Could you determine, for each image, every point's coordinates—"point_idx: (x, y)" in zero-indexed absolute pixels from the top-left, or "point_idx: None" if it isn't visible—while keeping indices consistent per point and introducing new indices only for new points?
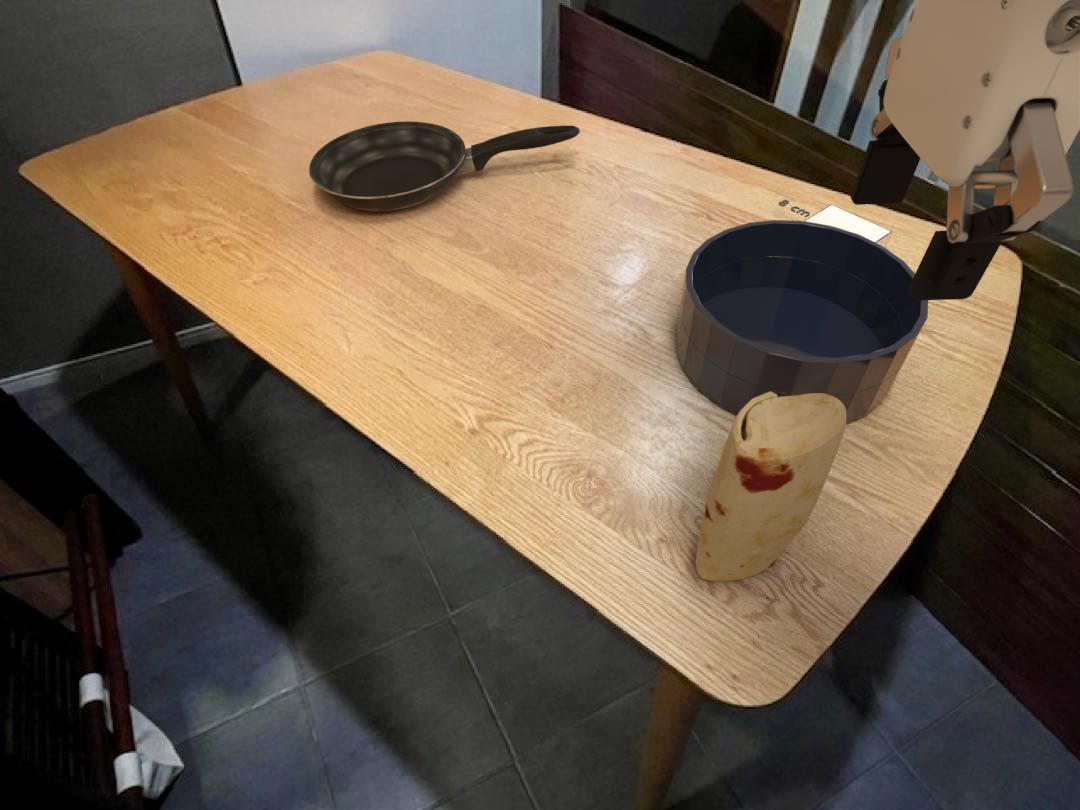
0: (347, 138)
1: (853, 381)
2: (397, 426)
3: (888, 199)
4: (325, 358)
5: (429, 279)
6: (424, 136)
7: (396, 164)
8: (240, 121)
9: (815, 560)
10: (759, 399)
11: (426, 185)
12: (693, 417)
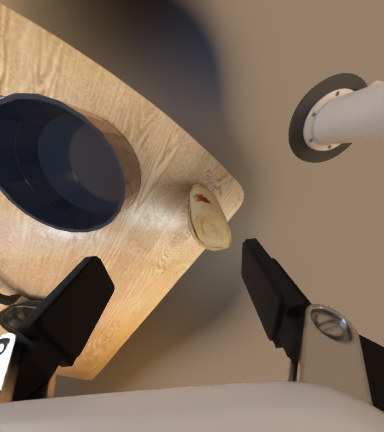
0: None
1: (122, 153)
2: (166, 285)
3: (102, 271)
4: (145, 305)
5: None
6: (8, 317)
7: None
8: None
9: (200, 170)
10: (199, 241)
11: None
12: (142, 208)
